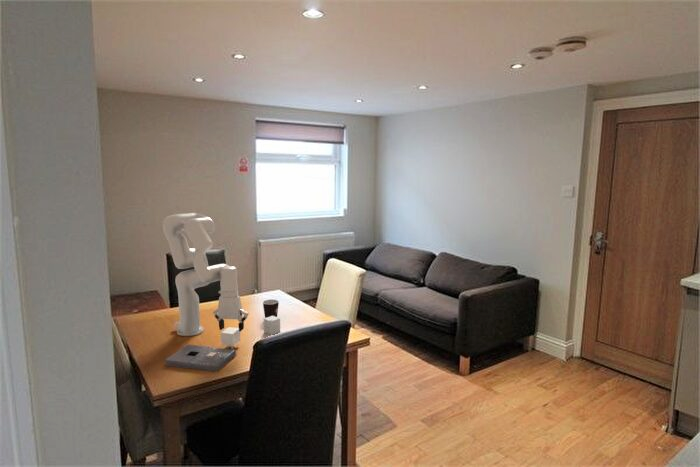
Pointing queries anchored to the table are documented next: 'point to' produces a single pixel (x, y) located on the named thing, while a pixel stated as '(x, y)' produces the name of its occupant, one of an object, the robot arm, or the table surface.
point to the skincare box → (271, 325)
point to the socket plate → (200, 357)
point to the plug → (230, 337)
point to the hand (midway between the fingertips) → (231, 329)
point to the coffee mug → (270, 307)
